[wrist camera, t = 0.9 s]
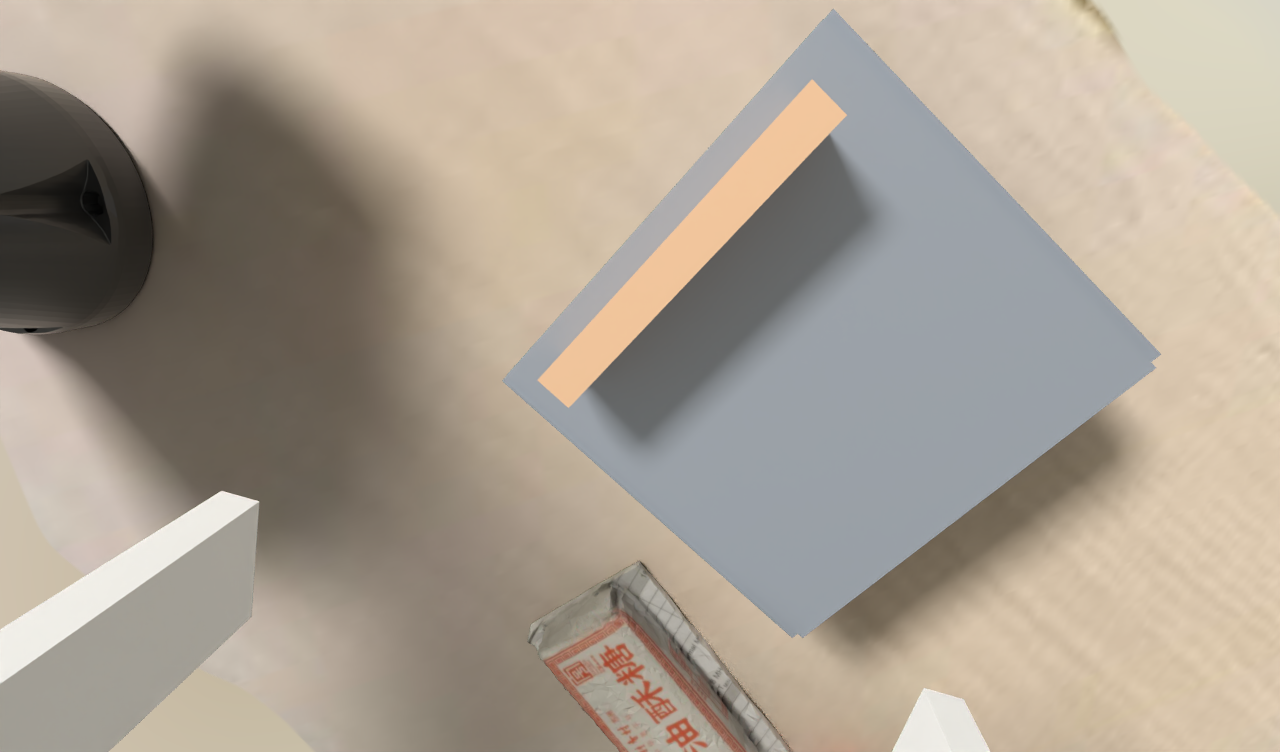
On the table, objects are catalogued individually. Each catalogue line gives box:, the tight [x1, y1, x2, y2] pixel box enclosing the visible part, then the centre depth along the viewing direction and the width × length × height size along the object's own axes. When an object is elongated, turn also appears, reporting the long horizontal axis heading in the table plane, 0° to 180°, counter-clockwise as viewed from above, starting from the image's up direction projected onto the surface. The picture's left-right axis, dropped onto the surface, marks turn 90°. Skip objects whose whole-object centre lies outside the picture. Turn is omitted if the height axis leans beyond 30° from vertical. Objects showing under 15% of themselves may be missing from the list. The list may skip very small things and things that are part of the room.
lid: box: [503, 9, 1161, 638], centre depth 26 cm, size 19×20×6 cm
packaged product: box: [527, 561, 790, 752], centre depth 41 cm, size 18×5×10 cm
